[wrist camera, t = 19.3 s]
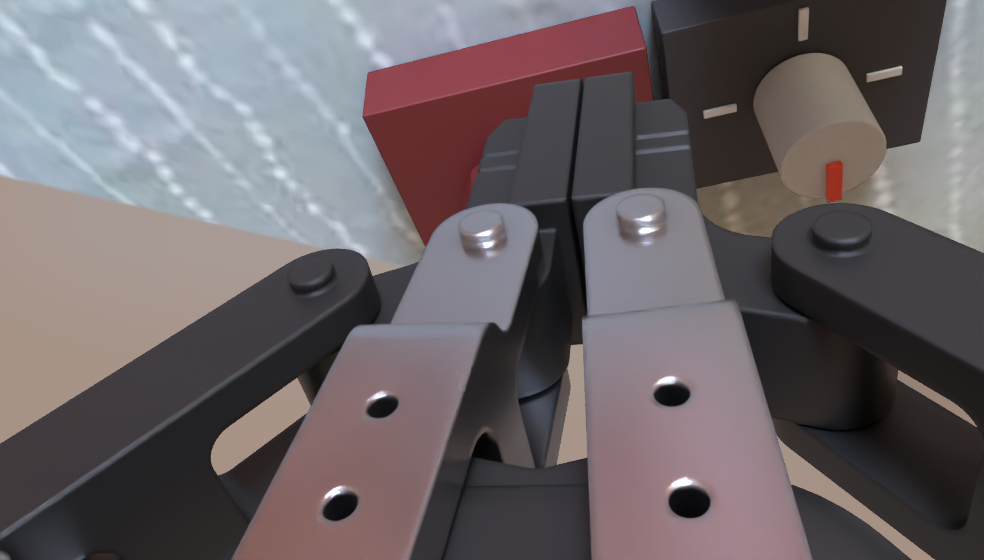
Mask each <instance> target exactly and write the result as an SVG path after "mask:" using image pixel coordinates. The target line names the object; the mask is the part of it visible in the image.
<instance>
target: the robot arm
mask: <svg viewBox="0 0 984 560" xmlns="http://www.w3.org/2000/svg"><path fill="white" fill-rule="evenodd" d="M577 344H583V356H584V357H583V358H584V382H585V407H586V431H587V456H588V458H584V459H580V460H576V461H572V462H567V463H563V464H559V465H556V464H557V459H558V453H559V448H560V443H561V437H562V432H563V427H564V421H565V416H566V411H567V405H568V400H569V395H570V380H569V375H568V370H567V367H568V363H569V358H570V347H571V345H577ZM898 370H900V371H902V372H903V373H905V374H907V375H908V376H910V377H912V378H913V379H915V380H917V381H918V382H920V383H922V384H924V385H925V386H927V387H929V388H930V389H932V390H934V391H935V392H937V393H939V394H940V395H942V396H944V397H946V398H947V399H949V400H951V401H952V402H954V403H955V404H957V405H958V406H959V407H960V408H962V409H963V410H964V411H965V412H966V413H967V414H968V415H969V416H970V417H971V419H972V420H973V421H974V423H975V424H976V425H977V427H978V428H977V427H975V426H973V425H972V424H970V423H969V422H967V421H965V420H964V419H962V418H960V417H959V416H957V415H955V414H954V413H952V412H950V411H949V410H947V409H945V408H944V407H942V406H940V405H939V404H937V403H935V402H934V401H932V400H930V399H928V398H927V397H926V396H924V395H922V394H921V393H919V392H917V391H916V390H914V389H912V388H910V387H909V386H907V385H905V384H904V383H902V382H901V381H899V380H897V376H898ZM296 378H298V380H299V382H300V384H301V386H302V388H303V390H304V392H305V394H306V396H307V399H308V401H309V403H310V405H311V407H310V409H309V411H308V413H307V414H305V415H304V416H303V417H301V418H300V419H298V420H297V421H296V422H294V423H293V424H292V425H290V426H289V427H288V428H286V429H285V430H284V431H283V432H281V433H280V434H278V435H277V436H276V437H274V438H273V439H272V440H270V441H269V442H268V443H266V444H265V445H264V446H262V447H261V448H260V449H258V450H257V451H256V452H254V453H253V454H252V455H250V456H249V457H248V458H246V459H245V460H243V461H242V462H241V463H239V464H238V465H237V466H235V467H234V468H233V469H231V470H230V471H228V472H226V473H224V474H222V475H217V474H216V472H215V471H214V469H213V467H212V464H211V450H212V448H213V445H214V443H215V441H216V439H217V438H218V437H219V435H220V434H221V433H222V432H223V431H224V430H225V429H226V428H227V427H229V426H230V425H231V424H233V423H234V422H236V421H237V420H238V419H240V418H241V417H243V416H244V415H245V414H247V413H248V412H250V411H251V410H252V409H254V408H255V407H257V406H258V405H259V404H261V403H262V402H263V401H265V400H266V399H268V398H269V397H271V396H272V395H273V394H275V393H276V392H277V391H279V390H280V389H282V388H283V387H284V386H286V385H287V384H288V383H290V382H292V381H293V380H294V379H296ZM777 436H778V437H779V438H780V440H781V441H782V442H783V443H784V444H785V445H787V446H788V447H789V448H790V449H791V450H793V451H794V452H795V453H797V454H798V455H799V456H801V457H802V458H803V459H805V460H806V461H807V462H808V463H810V464H811V465H812V466H814V467H815V468H816V469H818V470H819V471H820V472H822V473H823V474H824V475H825V476H827V477H828V478H829V479H831V480H832V481H833V482H834V483H836V484H837V485H838V486H840V487H841V488H842V489H844V490H845V491H846V492H848V493H849V494H850V495H851V496H853V497H854V498H855V499H857V500H858V501H859V502H860V503H862V504H863V505H865V506H866V507H867V508H868V509H870V510H871V511H872V512H874V513H875V514H876V515H877V516H879V517H880V518H881V519H883V520H884V521H885V522H887V523H888V524H889V525H890V526H892V527H893V528H894V529H896V530H897V531H898V532H900V533H901V534H902V535H903V536H905V537H906V538H907V539H909V540H910V541H911V542H913V543H914V544H915V545H917V546H918V547H919V548H920V549H922V550H923V551H924V552H926V553H927V554H928V555H930V556H931V557H932V558H934V559H935V560H984V253H982V252H980V251H977V250H975V249H972V248H970V247H968V246H965V245H963V244H961V243H958V242H956V241H954V240H951V239H949V238H947V237H944V236H942V235H940V234H937V233H935V232H933V231H930V230H928V229H925V228H923V227H921V226H918V225H916V224H914V223H911V222H909V221H907V220H904V219H902V218H900V217H897V216H895V215H893V214H890V213H888V212H885V211H882V210H880V209H877V208H873V207H869V206H864V205H857V204H844V203H838V204H824V205H817V206H813V207H808V208H805V209H802V210H799V211H797V212H795V213H793V214H791V215H789V216H787V217H786V218H784V219H783V220H782V221H781V222H780V223H779V224H778V225H777V226H776V228H775V229H774V231H773V234H772V237H771V238H768V237H759V236H751V235H744V234H739V233H735V232H731V231H729V230H726V229H723V228H721V227H719V226H717V225H715V224H713V223H712V222H711V221H709V220H708V219H707V218H706V217H705V216H704V215H703V214H702V212H701V209H700V207H699V205H698V201H697V193H696V184H695V176H694V168H693V160H692V152H691V143H690V135H689V127H688V119H687V112H686V111H685V110H683V109H682V108H681V107H680V106H679V105H677V104H676V103H675V102H674V101H673V100H672V99H663V100H655V101H647V102H639V103H637V101H636V92H635V83H634V75H633V71H631V72H624V73H616V74H609V75H602V76H594V77H587V78H585V81H584V83H583V80H582V79H573V80H566V81H559V82H551V83H544V84H537V85H535V86H534V90H533V94H532V98H531V103H530V107H529V112H528V116H527V117H523V118H515V119H507V120H504V121H503V122H502V123H501V124H500V125H499V126H498V127H497V128H496V129H495V130H494V131H493V132H492V133H491V134H490V135H489V136H488V137H487V140H486V143H485V147H484V150H483V153H482V158H481V160H480V163H479V167H478V173H476V177H475V180H474V183H473V187H472V190H471V193H470V197H469V200H468V203H467V206H466V210H464V211H461V212H459V213H457V214H455V215H453V216H451V217H450V218H448V219H446V220H445V221H444V222H443V223H441V224H440V225H439V226H438V227H437V228H436V229H435V231H434V232H433V234H432V235H431V237H430V240H429V242H428V244H427V246H426V248H425V250H424V252H423V254H422V257H421V259H420V261H419V262H417V263H414V264H411V265H409V266H405V267H402V268H399V269H396V270H392V271H388V272H385V273H381V274H378V275H375V276H372V274H371V271H370V268H369V266H368V263H367V260H366V259H365V258H364V257H363V256H362V255H361V254H359V253H357V252H355V251H352V250H347V249H328V250H322V251H317V252H313V253H310V254H307V255H305V256H302V257H300V258H297V259H295V260H293V261H292V262H290V263H288V264H286V265H285V266H283V267H281V268H280V269H278V270H277V271H275V272H273V273H272V274H270V275H269V276H267V277H265V278H264V279H262V280H261V281H259V282H258V283H256V284H254V285H253V286H251V287H250V288H248V289H246V290H245V291H243V292H241V293H240V294H238V295H237V296H235V297H234V298H232V299H231V300H229V301H227V302H226V303H224V304H223V305H221V306H219V307H218V308H216V309H214V310H213V311H211V312H210V313H208V314H207V315H205V316H203V317H202V318H200V319H199V320H197V321H195V322H194V323H192V324H190V325H189V326H187V327H186V328H184V329H183V330H181V331H179V332H178V333H176V334H175V335H173V336H171V337H170V338H168V339H167V340H165V341H164V342H162V343H160V344H159V345H157V346H156V347H154V348H152V349H151V350H149V351H147V352H146V353H144V354H143V355H141V356H140V357H138V358H136V359H135V360H133V361H132V362H130V363H128V364H127V365H125V366H124V367H122V368H120V369H119V370H117V371H116V372H114V373H112V374H111V375H110V376H108V377H106V378H104V379H103V380H101V381H100V382H98V383H96V384H95V385H94V386H92V387H90V388H88V389H87V390H85V391H84V392H82V393H81V394H79V395H77V396H76V397H74V398H73V399H71V400H69V401H68V402H66V403H65V404H63V405H62V406H60V407H58V408H57V409H55V410H53V411H52V412H50V413H49V414H47V415H46V416H44V417H42V418H41V419H39V420H38V421H36V422H34V423H33V424H31V425H30V426H28V427H26V428H25V429H23V430H22V431H20V432H18V433H17V434H15V435H14V436H12V437H10V438H9V439H7V440H6V441H4V442H2V443H1V444H0V560H911V559H910V558H909V557H907V556H906V555H905V554H904V553H902V552H901V551H900V550H899V549H898V548H897V547H896V546H894V545H893V544H892V543H891V542H890V541H888V540H887V539H886V538H885V537H884V536H882V535H881V534H880V533H879V532H877V531H876V530H875V529H873V528H872V527H871V526H870V525H868V524H867V523H865V522H864V521H862V520H861V519H859V518H858V517H856V516H855V515H853V514H852V513H850V512H849V511H847V510H846V509H844V508H842V507H840V506H838V505H836V504H835V503H833V502H831V501H828V500H827V499H825V498H823V497H821V496H819V495H817V494H814V493H812V492H809V491H807V490H804V489H802V488H799V487H797V486H794V485H791V484H790V480H789V477H788V473H787V470H786V467H785V463H784V459H783V456H782V453H781V449H780V446H779V442H778V439H777Z"/></svg>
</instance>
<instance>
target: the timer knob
mask: <svg viewBox="0 0 984 560" xmlns="http://www.w3.org/2000/svg"><path fill="white" fill-rule="evenodd" d="M753 107H754V112H755V115H756V117H757V120H758V122H759V125H760V127H761V130H762V132H763V134H764V137H765V139H766V142H767V144H768V147H769V149H770V152H771V154H772V157H773V159H774V162H775V164H776V167H777V169H778V172H779V174H780V176H781V179H782V181H783V183H784V185H785V186H786V187H787V188H788V189H789V190H791V191H792V192H794V193H796V194H798V195H800V196H804V197H810V198H823V197H826V199H827V202H833V201H837V200H841V199H842V193H844V192H846V191H848V190H851V189H853V188H854V187H856V186H858V185H860V184H861V183H863V182H864V181H865V180H867V179H868V178H869V177H870V176H871V175H872V174H873V173H874V172H875V171H876V170H877V169H878V167H879V166H880V164H881V163H882V161H883V159H884V156H885V153H886V138H885V135H884V133H883V131H882V129H881V128H880V126H879V124H878V122H877V121H876V119H875V117H874V115H873V113H872V112H871V110H870V108H869V106H868V105H867V103H866V101H865V99H864V97H863V96H862V94H861V92H860V90H859V89H858V87H857V85H856V83H855V81H854V80H853V78H852V76H851V74H850V73H849V71H848V69H847V67H846V66H845V65H844V63H843V62H842V61H841V60H839V59H837V58H836V57H834V56H831V55H828V54H823V53H808V54H802V55H798V56H795V57H792V58H790V59H788V60H786V61H784V62H782V63H780V64H779V65H777V66H776V67H775V68H773V69H772V70H771V71H770V72H769V73H768V74H767V75H766V76H765V77H764V78H763V80H762V81H761V82H760V84H759V86H758V88H757V90H756V93H755V96H754V101H753Z"/></svg>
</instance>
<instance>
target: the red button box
mask: <svg viewBox="0 0 984 560" xmlns="http://www.w3.org/2000/svg"><path fill="white" fill-rule="evenodd" d="M631 71H633V75H634V83H635V92H636V101H637V103H639V102H647V101H653V93H652V86H651V78H650V70H649V63H648V55H647V48H646V45H645V41H644V38H643V34H642V30H641V27H640V23H639V20H638V16H637V13H636V9H635V7H634V6H631V7H627V8H623V9H619V10H615V11H611V12H607V13H603V14H599V15H595V16H591V17H587V18H583V19H579V20H576V21H572V22H568V23H564V24H560V25H556V26H552V27H548V28H544V29H540V30H536V31H532V32H528V33H524V34H520V35H516V36H512V37H508V38H504V39H500V40H496V41H492V42H488V43H484V44H480V45H476V46H472V47H468V48H464V49H460V50H456V51H452V52H448V53H444V54H440V55H436V56H432V57H428V58H424V59H420V60H417V61H413V62H409V63H405V64H401V65H397V66H393V67H389V68H385V69H381V70H377V71H373V72H369V73H368V75H367V84H366V92H365V100H364V109H363V118H364V121H365V123H366V125H367V127H368V129H369V131H370V133H371V135H372V137H373V139H374V141H375V143H376V145H377V147H378V150H379V152H380V154H381V156H382V158H383V160H384V162H385V164H386V166H387V168H388V170H389V172H390V174H391V177H392V179H393V181H394V183H395V185H396V187H397V189H398V191H399V193H400V195H401V197H402V199H403V201H404V204H405V206H406V208H407V210H408V212H409V214H410V216H411V218H412V220H413V222H414V224H415V226H416V228H417V230H418V233H419V235H420V237H421V239H422V241H423V243H424V245H425V247H426V246H427V244H428V242H429V240H430V237H431V235H432V234H433V232H434V231H435V229H436V228H437V227H438V226H439V225H440V224H441V223H443V222H444V221H445V220H446V219H448V218H450V217H451V216H453V215H455V214H457V213H459V212H461V211H464V210H466V206H467V203H468V200H469V197H470V193H471V190H472V187H473V183H474V180H475V177H476V173H478V167H479V163H480V160H481V158H482V153H483V150H484V147H485V143H486V140H487V137H488V136H489V135H490V134H491V133H492V132H493V131H494V130H495V129H496V128H497V127H498V126H499V125H500V124H501V123H502V122H503V121H504V120H507V119H515V118H523V117H527V116H528V112H529V107H530V103H531V98H532V94H533V90H534V86H535V85H537V84H544V83H551V82H559V81H566V80H573V79H582V80H583V83H584V81H585V78H587V77H594V76H602V75H609V74H616V73H624V72H631Z"/></svg>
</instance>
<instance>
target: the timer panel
mask: <svg viewBox="0 0 984 560" xmlns="http://www.w3.org/2000/svg"><path fill="white" fill-rule="evenodd" d="M946 1H947V0H656V1H653V2H652V11H653V20H654V28H655V36H656V44H657V52H658V61H659V69H660V77H661V85H662V94H663V99H672V100H673V101H674V102H675V103H676V104H677V105H679V106H680V107H681V108H682V109H683V110H685V111H686V112H687V119H688V127H689V135H690V143H691V152H692V160H693V168H694V176H695V184H696V189H697V188H702V187H706V186H711V185H716V184H721V183H726V182H730V181H735V180H740V179H745V178H750V177H754V176H759V175H764V174H769V173H773V172H778V169H777V167H776V164H775V162H774V159H773V157H772V154H771V152H770V149H769V147H768V144H767V142H766V139H765V137H764V134H763V132H762V130H761V127H760V125H759V122H758V120H757V117H756V115H755V112H754V107H753V101H754V96H755V93H756V90H757V88H758V86H759V84H760V82H761V81H762V80H763V78H764V77H765V76H766V75H767V74H768V73H769V72H770V71H771V70H772V69H773V68H775V67H776V66H777V65H779V64H780V63H782V62H784V61H786V60H788V59H790V58H792V57H795V56H798V55H802V54H808V53H823V54H828V55H831V56H834V57H836V58H837V59H839V60H841V61H842V62H843V63H844V65H845V66H846V67H847V69H848V71H849V73H850V74H851V76H852V78H853V80H854V81H855V83H856V85H857V87H858V89H859V90H860V92H861V94H862V96H863V97H864V99H865V101H866V103H867V105H868V106H869V108H870V110H871V112H872V113H873V115H874V117H875V119H876V121H877V122H878V124H879V126H880V128H881V129H882V131H883V133H884V135H885V138H886V149H888V148H893V147H898V146H903V145H907V144H912V143H917V142H920V139H921V134H922V129H923V123H924V118H925V113H926V108H927V102H928V97H929V92H930V86H931V81H932V76H933V70H934V65H935V60H936V54H937V49H938V44H939V38H940V33H941V28H942V22H943V17H944V12H945V6H946Z"/></svg>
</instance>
